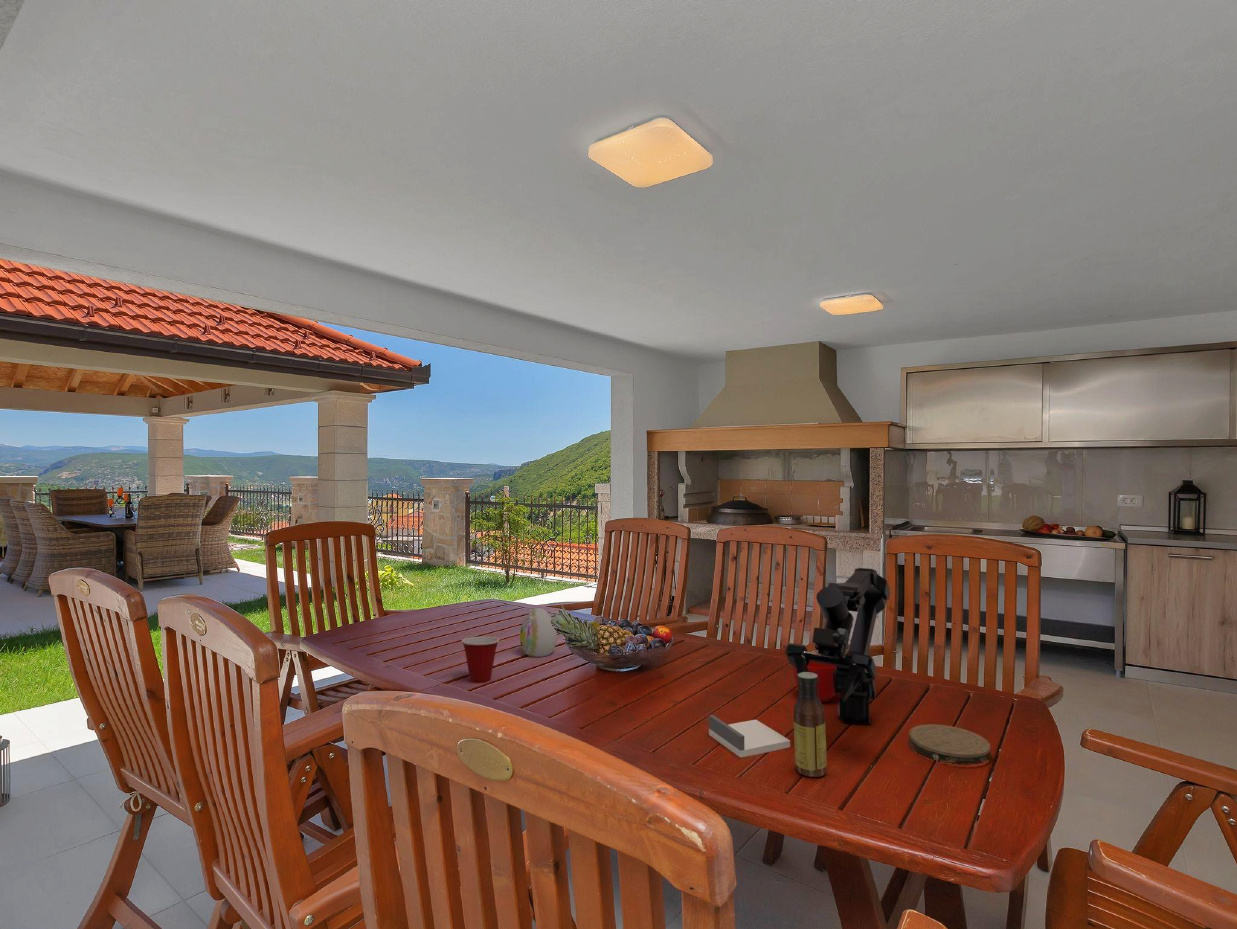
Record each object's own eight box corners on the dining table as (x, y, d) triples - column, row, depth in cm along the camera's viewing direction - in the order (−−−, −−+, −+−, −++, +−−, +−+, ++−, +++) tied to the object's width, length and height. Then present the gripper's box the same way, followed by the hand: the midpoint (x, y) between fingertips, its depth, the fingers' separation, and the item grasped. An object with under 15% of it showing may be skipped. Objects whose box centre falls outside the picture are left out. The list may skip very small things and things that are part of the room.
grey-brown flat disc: (919, 731, 154) (919, 718, 154) (997, 750, 144) (997, 736, 144) (899, 754, 141) (899, 740, 141) (982, 777, 131) (982, 762, 131)
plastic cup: (504, 674, 195) (504, 634, 195) (493, 686, 185) (493, 644, 185) (468, 673, 196) (468, 633, 196) (456, 685, 186) (456, 643, 186)
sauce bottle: (820, 764, 136) (820, 669, 136) (831, 778, 130) (831, 679, 130) (789, 764, 136) (789, 669, 136) (798, 779, 130) (798, 679, 130)
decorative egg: (517, 650, 220) (517, 605, 220) (552, 647, 224) (552, 603, 224) (523, 660, 209) (523, 613, 209) (560, 657, 212) (560, 611, 212)
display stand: (755, 725, 156) (755, 706, 156) (790, 747, 144) (790, 727, 144) (708, 734, 151) (708, 715, 151) (740, 757, 139) (740, 736, 139)
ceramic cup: (862, 709, 167) (862, 670, 167) (794, 704, 170) (794, 666, 170) (854, 691, 179) (854, 655, 179) (791, 687, 183) (791, 652, 183)
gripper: (787, 607, 149) (769, 668, 140) (873, 618, 138) (859, 684, 129) (799, 634, 155) (782, 694, 146) (882, 647, 145) (869, 712, 135)
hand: (821, 695), depth 139 cm, fingers open, 9 cm apart
